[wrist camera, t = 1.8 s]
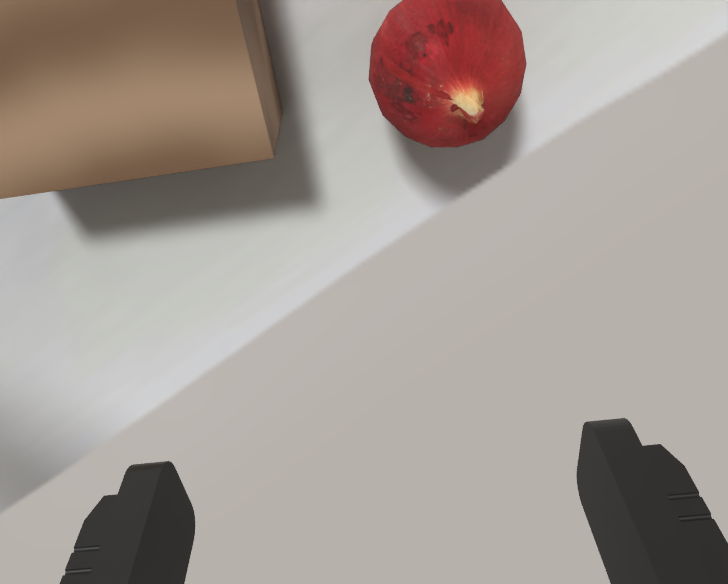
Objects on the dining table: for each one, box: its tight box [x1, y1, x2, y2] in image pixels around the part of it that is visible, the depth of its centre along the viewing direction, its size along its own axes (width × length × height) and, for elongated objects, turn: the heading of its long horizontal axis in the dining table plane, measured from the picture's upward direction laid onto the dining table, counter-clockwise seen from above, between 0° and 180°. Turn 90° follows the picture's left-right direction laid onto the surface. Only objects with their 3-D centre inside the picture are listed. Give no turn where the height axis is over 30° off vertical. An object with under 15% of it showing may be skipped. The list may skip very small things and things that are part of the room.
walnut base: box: [0, 0, 283, 199], centre depth 23 cm, size 12×12×5 cm
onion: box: [369, 0, 526, 147], centre depth 23 cm, size 6×6×8 cm
